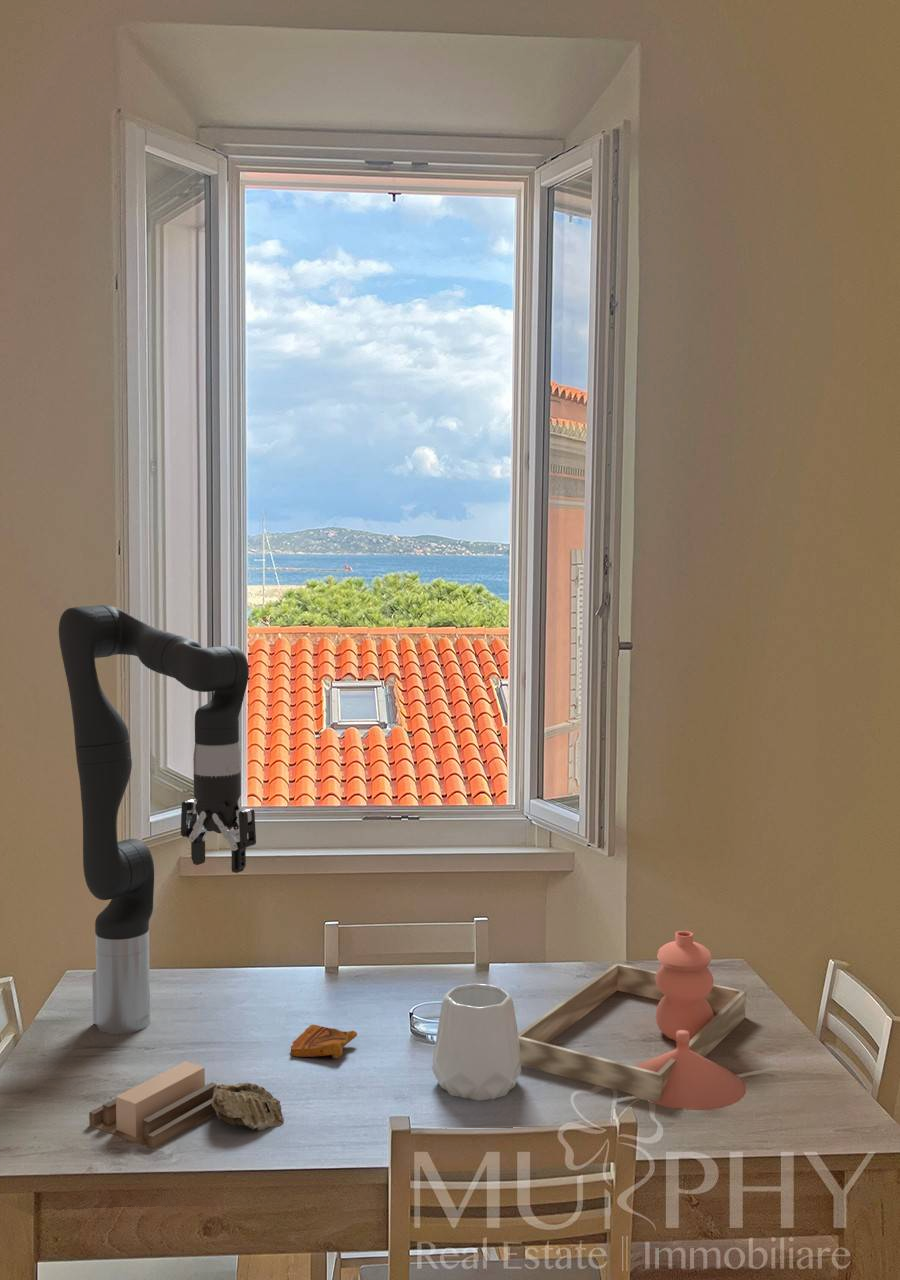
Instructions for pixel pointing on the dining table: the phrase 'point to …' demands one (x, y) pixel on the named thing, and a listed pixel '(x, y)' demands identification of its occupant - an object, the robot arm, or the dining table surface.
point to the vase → (477, 1043)
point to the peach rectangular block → (156, 1096)
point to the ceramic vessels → (689, 1030)
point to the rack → (161, 1118)
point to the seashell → (247, 1106)
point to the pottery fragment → (321, 1042)
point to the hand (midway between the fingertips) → (218, 867)
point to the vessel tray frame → (612, 1072)
